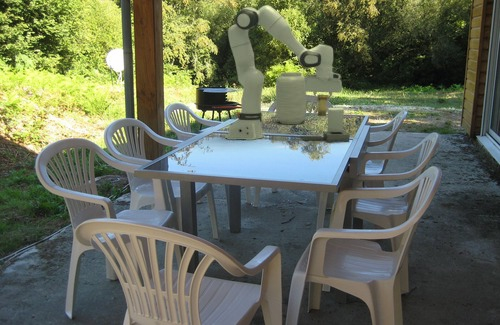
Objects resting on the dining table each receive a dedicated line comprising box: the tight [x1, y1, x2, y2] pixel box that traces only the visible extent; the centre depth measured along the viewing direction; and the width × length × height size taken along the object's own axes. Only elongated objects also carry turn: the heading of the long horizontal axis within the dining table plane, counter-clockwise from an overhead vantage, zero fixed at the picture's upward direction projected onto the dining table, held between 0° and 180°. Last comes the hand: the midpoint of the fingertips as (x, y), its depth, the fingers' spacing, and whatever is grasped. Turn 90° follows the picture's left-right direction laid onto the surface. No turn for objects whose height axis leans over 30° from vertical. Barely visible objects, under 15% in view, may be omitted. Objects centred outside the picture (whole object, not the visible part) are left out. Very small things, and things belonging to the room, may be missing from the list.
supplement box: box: [327, 107, 345, 131], centre depth 293 cm, size 9×9×15 cm
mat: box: [300, 135, 325, 142], centre depth 279 cm, size 12×12×1 cm
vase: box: [275, 71, 307, 125], centre depth 334 cm, size 20×20×34 cm
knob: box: [316, 94, 329, 117], centre depth 273 cm, size 6×6×11 cm
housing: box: [322, 130, 350, 143], centre depth 273 cm, size 12×12×4 cm
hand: (322, 100), depth 272 cm, fingers closed on knob, 5 cm apart
